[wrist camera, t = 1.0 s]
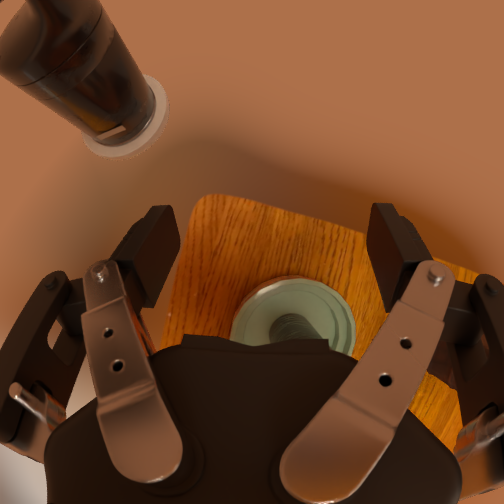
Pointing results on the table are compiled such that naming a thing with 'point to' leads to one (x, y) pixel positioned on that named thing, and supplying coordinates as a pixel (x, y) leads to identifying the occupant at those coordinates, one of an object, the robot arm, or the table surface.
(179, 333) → the table surface
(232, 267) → the table surface
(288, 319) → the thermos flask
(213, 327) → the table surface
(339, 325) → the celadon bowl
